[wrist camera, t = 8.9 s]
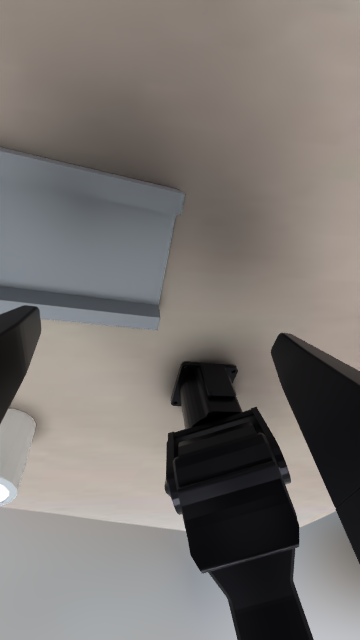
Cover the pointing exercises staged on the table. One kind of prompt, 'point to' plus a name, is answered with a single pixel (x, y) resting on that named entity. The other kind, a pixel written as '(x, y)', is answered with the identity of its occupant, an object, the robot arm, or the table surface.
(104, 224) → the track
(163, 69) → the table surface
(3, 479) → the shot glass
